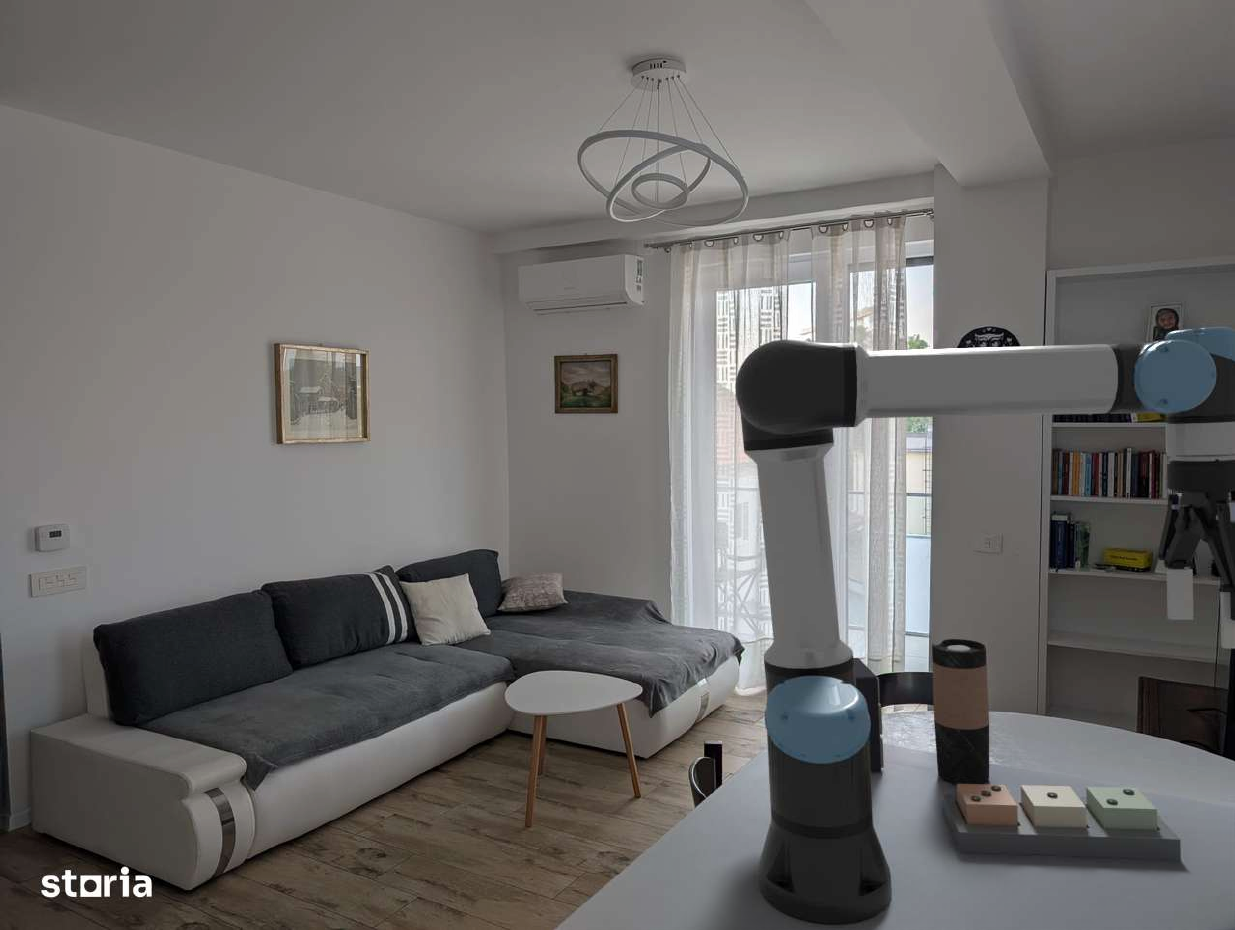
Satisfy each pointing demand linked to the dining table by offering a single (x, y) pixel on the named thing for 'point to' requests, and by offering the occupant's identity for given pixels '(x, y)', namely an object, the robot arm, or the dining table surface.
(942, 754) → the travel mug
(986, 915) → the dining table surface
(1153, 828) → the button two
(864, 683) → the calculator
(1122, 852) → the keypad board
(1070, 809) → the button one
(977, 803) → the button three
